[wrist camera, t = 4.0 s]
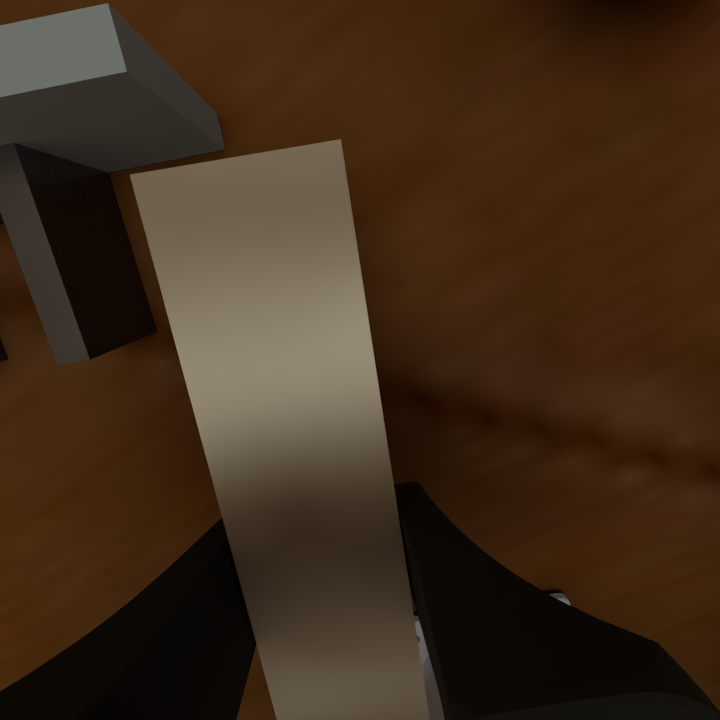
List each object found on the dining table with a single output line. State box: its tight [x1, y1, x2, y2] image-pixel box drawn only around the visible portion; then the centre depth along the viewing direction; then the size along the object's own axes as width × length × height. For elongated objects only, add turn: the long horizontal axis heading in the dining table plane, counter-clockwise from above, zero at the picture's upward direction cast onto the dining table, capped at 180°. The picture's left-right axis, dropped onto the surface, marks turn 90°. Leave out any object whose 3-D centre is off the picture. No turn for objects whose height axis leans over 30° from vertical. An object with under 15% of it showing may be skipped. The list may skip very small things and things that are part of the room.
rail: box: [130, 139, 430, 720], centre depth 11 cm, size 14×4×4 cm, turn 9°
